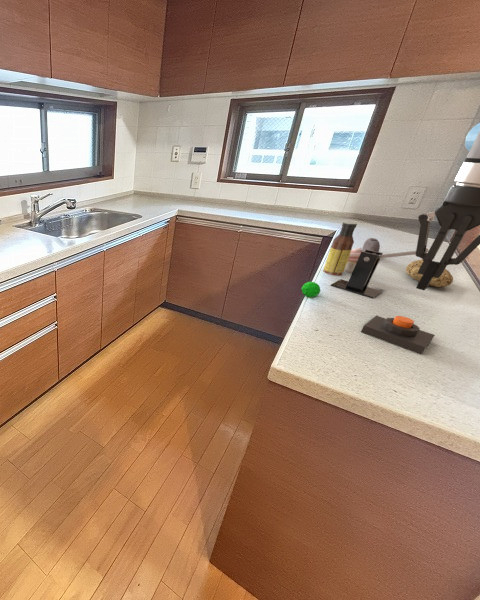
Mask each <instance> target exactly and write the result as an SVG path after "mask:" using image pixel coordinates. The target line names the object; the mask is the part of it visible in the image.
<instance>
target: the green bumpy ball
mask: <svg viewBox="0 0 480 600" xmlns="http://www.w3.org/2000/svg"><path fill="white" fill-rule="evenodd" d="M320 292H321V287H320V285H319V284H318V283H317V282H315V281H307V282H305V283H304V284H303V285H302V286H301V293H302V294H303V295H304V296H305V297H307V298H315V297H317V296H318V295H320Z"/></svg>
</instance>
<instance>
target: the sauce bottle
mask: <svg viewBox="0 0 480 600" xmlns="http://www.w3.org/2000/svg"><path fill="white" fill-rule="evenodd" d="M357 225H358V224H357V222H353V221H342V224H341V228H340V232H339V234H338V235H337V236H336V237H335V238H334V239H333V240H332V243H331V246H330V249H329V251H328V254H327V257H326V259H325V263H324V267H323V270H322V271H323V273H324V274H328V275H331V276H335V277H338V276H339V277H340V276H342V275H343V273H345V272H344V269H345V266H346V264H347V261H348V258H349V256H350V253H351V250H353V247H354V243H355V241H354V236H353V235H354V232H355V230H356V228H357Z"/></svg>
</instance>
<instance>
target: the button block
mask: <svg viewBox="0 0 480 600" xmlns="http://www.w3.org/2000/svg"><path fill="white" fill-rule="evenodd" d="M394 318H395V317H386V318H385V317H383V316H379V315H375V316H374V317H372V319H370V320H369V321H368V322H366V323H365V324H363V327H362V329H361V330H360V333H362V334H365V335H367V336H370V337H372V338H375V339H378V340H380V341H384V342H386V343H389V344H392V345H394V346H396V347H399V348H402V349H405V350H407V351H410V352H413V353H416V354H418V355H423V353H424V352H425V350H426V349H427V348H428V346H429V345H430V344H431V342H432V341H433V340H434V338H435V334H434V333H432V332H428V331H425V330H422V329H420V327H419V326H418V325H416V324H415V323H413V325H412V327H411V328H403V327H400V326H397V325H395V324H393V323H392V322H393V320H394Z"/></svg>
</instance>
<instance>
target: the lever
mask: <svg viewBox="0 0 480 600" xmlns="http://www.w3.org/2000/svg"><path fill="white" fill-rule="evenodd" d="M428 251H429V249H428V248H427V247H426V253H428ZM372 254H376V253H372ZM414 255H415V256H416V250H411V251H410V250H409V251H402V252H392V253H383V254H382V255H379V256H378V258H380V259H386V258H394V257H405V256H414ZM378 258H377V259H378Z"/></svg>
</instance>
